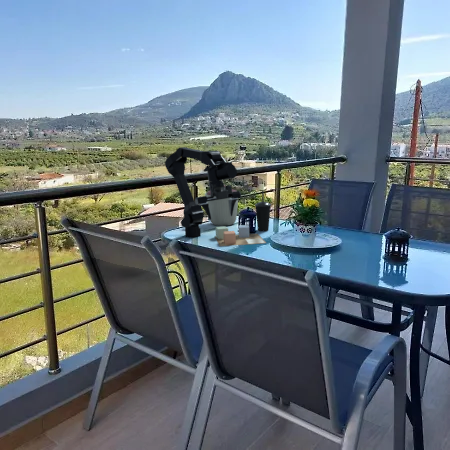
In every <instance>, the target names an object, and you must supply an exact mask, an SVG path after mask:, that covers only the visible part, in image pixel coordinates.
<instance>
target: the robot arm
mask: <svg viewBox="0 0 450 450" xmlns="http://www.w3.org/2000/svg"><path fill="white" fill-rule="evenodd" d="M165 159H166V160H165V161H164V166H165V168H166V170H167V172H168V173H169V174H170V175H171V176H172V177H173V179H174V181H175V185H176V186H177V190H178V192H179V195H180V198H181V200H182V203H183V206H184V208H183V217H182V219H181V220H180V225H181V227H183V228H184V233H185V236H184V237H185V238H189V239H192V238H193V239H194V238H195V239H196V238H199V237H201V233H202V232H201V227H200V225H202V224H203V221H204V217H205V216H204V213H205V214H206V216H208V219H209V220H211V214H210V210H209V204H207V201H213V200H219V199H226V198H230V200H228V201H229V210H230V215H231V216H232V214H233V209H234V205H235V202H236V201H237V200H238V201H239V199H240V198H242V193H241V191H240V190H236V191H234V192H232V189H233V188H232V185H231V184H229V185H225V184H224V182H223V181H224V180H230V179H235V178H236V177H237V174H238V170H237V168H236V166H235V165H234V164H233V162H232V161H226V160H225V158H224V157H223V155H222V154H221V151H219V150H206V151H205V150H200V149H194V148H190V147H186V146H185V147H184V146H183V147H178V148H177V149H176V150H175V151H174V152H173V153H171V154H170V155H169V156H168V157H167V158H165ZM188 159H192V160H196V161H200V163H201V164H203V165H205V167H204V169H203V172H204V173H205V172H206V173H207V179H208V187H209V191H210V193H211V194H210V196H211V197H206V195H203V196H197V197H195V199H194V196H193V194H192V191H191V188H190V185H189V182H188V180H187V178H186V175H185V171H186V165H185V164H186V163H187V161H188ZM224 185H225V186H226V187H224ZM214 196H215V197H216V198H213V197H214ZM237 198H238V199H237Z"/></svg>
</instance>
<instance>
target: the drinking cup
mask: <svg viewBox="0 0 450 450" xmlns="http://www.w3.org/2000/svg"><path fill="white" fill-rule="evenodd" d="M264 193H265V192H264V190H262V191H261V201H259V202H257V203H255V204H254V206H255V214H256V223H257V224H256V225H257V231H258V232H268V231H269V228H270V216H271V207H272V203H269V202H268V201H265V196H264Z"/></svg>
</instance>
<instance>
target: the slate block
mask: <svg viewBox="0 0 450 450" xmlns="http://www.w3.org/2000/svg"><path fill="white" fill-rule="evenodd" d="M249 234H250V226H249V225H248V224H246V225H245V224H243V225H241V224H240V225H238V235H239V238H240V237H249Z"/></svg>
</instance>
